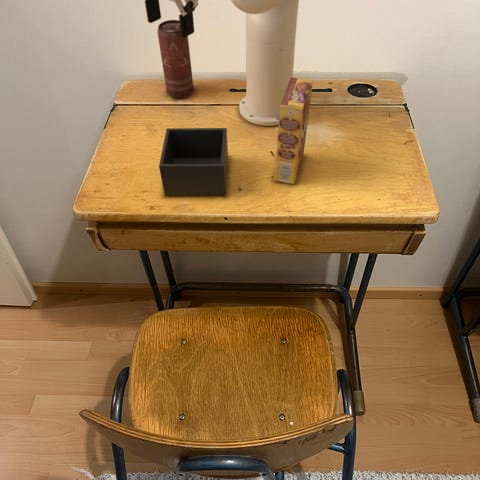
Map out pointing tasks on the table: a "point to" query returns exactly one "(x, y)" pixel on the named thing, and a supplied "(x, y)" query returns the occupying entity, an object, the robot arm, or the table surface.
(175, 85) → the can
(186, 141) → the bin
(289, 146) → the candy box
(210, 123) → the table surface
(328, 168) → the table surface
